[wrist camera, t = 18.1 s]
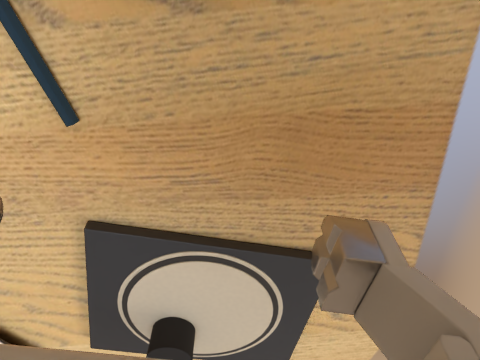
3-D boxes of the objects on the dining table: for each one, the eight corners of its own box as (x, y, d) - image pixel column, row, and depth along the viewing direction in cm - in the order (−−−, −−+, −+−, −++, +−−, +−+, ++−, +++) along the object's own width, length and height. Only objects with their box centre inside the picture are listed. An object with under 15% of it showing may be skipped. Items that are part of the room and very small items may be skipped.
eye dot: (198, 319, 34) (194, 350, 31) (192, 344, 36) (189, 375, 34) (153, 314, 33) (147, 345, 31) (151, 340, 36) (144, 370, 33)
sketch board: (332, 254, 31) (336, 265, 30) (284, 359, 40) (285, 371, 39) (88, 220, 29) (82, 231, 28) (93, 339, 38) (89, 351, 37)
